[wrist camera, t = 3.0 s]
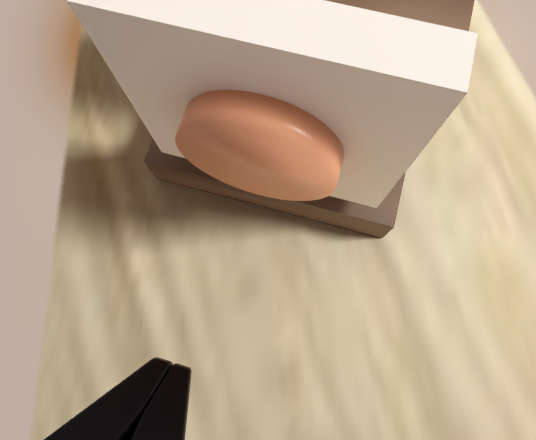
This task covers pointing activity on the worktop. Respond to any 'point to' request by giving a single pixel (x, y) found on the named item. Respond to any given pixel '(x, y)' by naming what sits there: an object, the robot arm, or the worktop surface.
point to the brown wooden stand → (329, 208)
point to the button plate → (284, 88)
